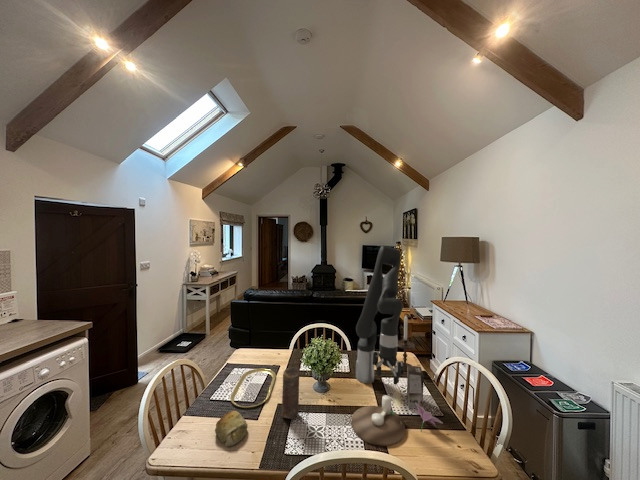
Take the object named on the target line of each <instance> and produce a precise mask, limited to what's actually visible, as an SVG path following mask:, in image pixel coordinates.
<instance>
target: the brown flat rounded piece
mask: <svg viewBox="0 0 640 480" xmlns="http://www.w3.org/2000/svg"><path fill="white" fill-rule="evenodd" d="M374 413H379V414H381V413H382V406H378V405H367V406H363V407H359V408H358V409H357V410H355V411H354V412H353V414H352V416H351V418H350V419H351V420H350V421H351V423H350V424H351V425H352V426H351V428H353V429H352V431H353V430H354V431H353V432H355V433H356V434H355V433H354V434H355V435H356V436H357V438H359V437H360V438H359V439H361V440H362V441H363V442H365V443H367V444H371V445H374V446H377V447H378V446H379V447H389V446H393V445H396V444H398V443H400V442H401V441H402V440H403V438H404V437H405V432H406V424H405V422H404V421H403V418H401V417H400V415H398V413H396V412H395V411H393V410H391V414H390V415H385V416H384V424H383V425H381V426H377V425H374V424H373V423H372V414H374Z"/></svg>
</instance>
